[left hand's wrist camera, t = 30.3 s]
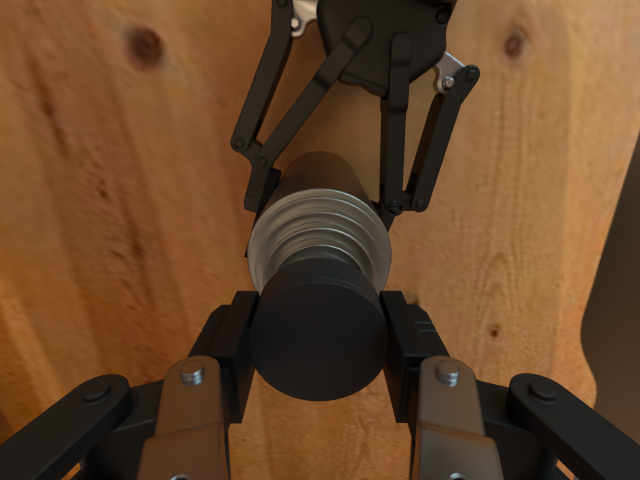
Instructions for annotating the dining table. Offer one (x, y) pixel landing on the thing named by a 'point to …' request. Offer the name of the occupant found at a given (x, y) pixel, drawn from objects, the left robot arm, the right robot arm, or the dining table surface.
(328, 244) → the bottle
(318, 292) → the cap
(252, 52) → the dining table surface
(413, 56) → the right robot arm
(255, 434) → the dining table surface
